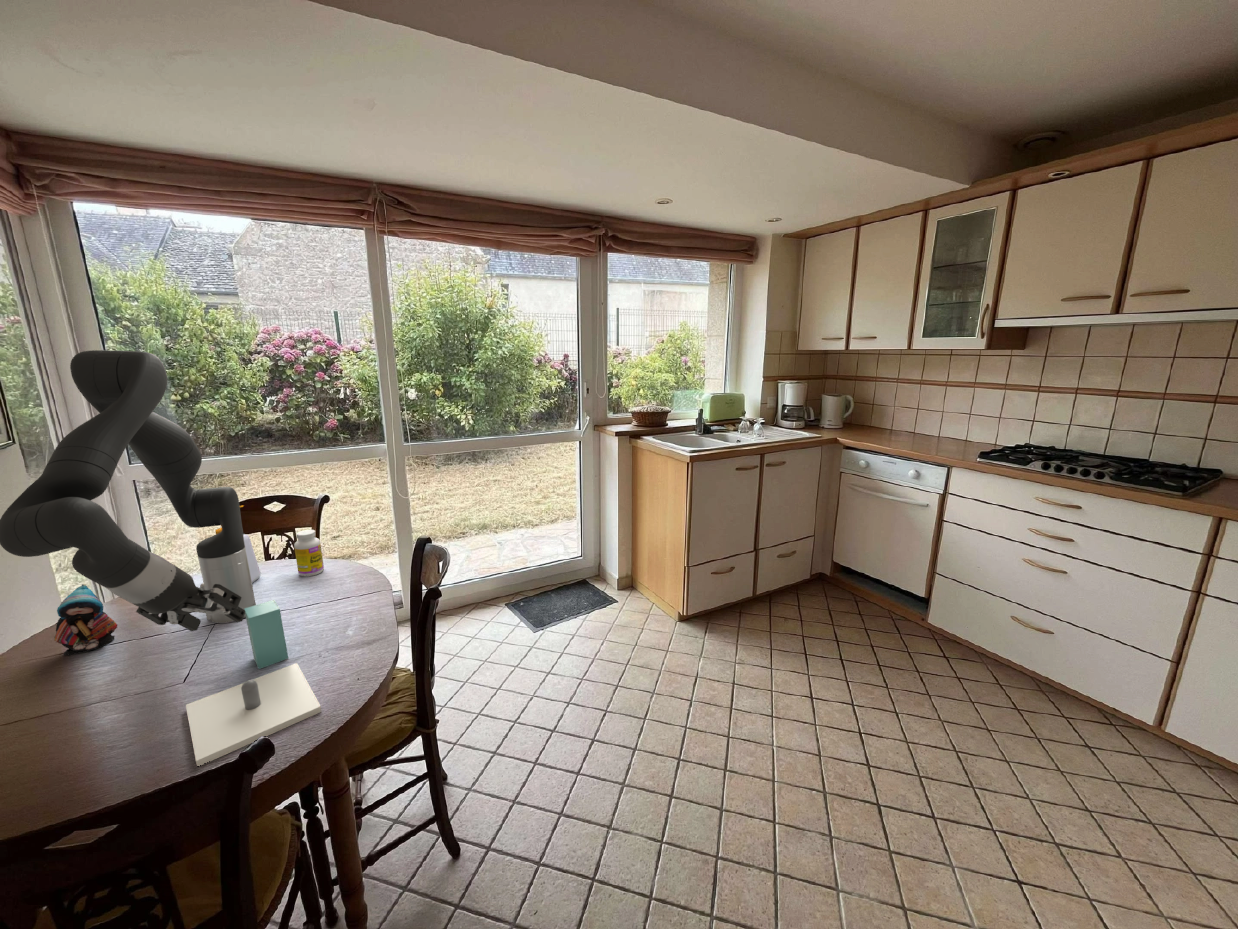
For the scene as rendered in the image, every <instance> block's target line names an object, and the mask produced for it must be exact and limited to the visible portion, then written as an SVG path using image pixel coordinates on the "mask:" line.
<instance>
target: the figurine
mask: <svg viewBox="0 0 1238 929" xmlns="http://www.w3.org/2000/svg"><path fill="white" fill-rule="evenodd" d="M56 613H57V615H58V617H59V618H58V620H57V622H56V624H55V634H54V640H53V641H54V642H55V643H58V644H59V645H60V644H61V645H62V646H63V647H65V648H66V650H65V651H64V653H63V655H64V656H73V655H76V654H80V653H85V652H90V651H94V650H96V649H100V648H102V647H103V646H106V645H108V644H110V643H112V642H113V641H115V635H112V634H113V633H114V632H115V631H116V629H118V624H117V623H116V622H115V620H114V619H112V617H110V616H109V615H108V614H107V613H106V612H105V611H104V605H103V602H102V600H100V599H99V598H98V596H97V595H96V594H95V593H94V592H93V591H92V589H90V588H89V587H88V586H87V584H85V583H83V584H81V585H80V586H78V587H76V588H75V589H74V590H73V591H72V592H71V593H70V594H69V595H67V596H66V597H65V598H64V599H63V601H61V603H60V604H59V606H57V608H56Z"/></svg>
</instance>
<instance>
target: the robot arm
mask: <svg viewBox="0 0 1238 929" xmlns="http://www.w3.org/2000/svg"><path fill="white" fill-rule="evenodd" d="M69 366H70V367H69V368H70V374H71V377H72V380H73V383H74V384H75V386H76V388H77V390H78V391H79V392H80V394H81V395H82V396H83V397H84V399H85V400H86V401H87V402H88V403H89V405H91V407H93V408H94V409H95V410H96V411H97V412H98V414H97V415H95V416H93V417H92V418H90V419H88V420H86V421H85V422H83V423H82V424H80V425H78V426H77V427H76V428H74V429H73V430H72V431H70V432H69V433H67V434H66V435H65V437H63V438H62V439H61V440H60V442H59V443H58V444H57V445H56V447H55V449H54V450H53V452H52V454H51V456H50V457H49V460H48V461H47V463H46V465H45V467H44V468H43V471H42V473H41V475H40V476H39V477H38V478H37V479H36V480H35V481H34V482H31V484H30V485H28V487H27V488H26V489H24V491H23V492H22V493H21V494H20V495H19V496H18V497H17V498H16V499H15V500H14V501H13V502H12V503H10V505H9V506H8V507H7V508H6V510H5V511H4V513H3V514H2V516H1V517H0V546H1V548H3V550H5V551H6V552H8V553H9V554H11V555H14V556H17V557H24V558H33V557H38V556H44V555H49V554H51V553H55V552H59V551H64V550H68V549H72V548H75V549H77V551H76V552H75V554H74V555H73V557H72V560H71V565H72V567H73V569H74V570H75V571H76V572H77V573H78V574H79V575H81V576H83V577H84V578H86V579H89V581H90V580H91V581H92V582H94V583H96V584H98V585H99V586H102V587H104V588H106V589H107V590H109V591H110V592H111V593H112V594H113V595H115V596H116V597H119V598H120V599H123V600H124V601H127V602H128V603H130V604H132V605H135V607H137V610H136V611H135V612H136V613H137V614H139V615H141V616H142V617H144V618H146V619H148V620H150V621H151V622H153V623H155V624H157V625H158V626H164V625H166V624H167V623H169V624H171V625H174V626H175V625H179V626H181V627H183V628H184V629H187V630H188V631H190V632H194V631H195V632H196V631H198V629H199V628H200V625H201V622H202V621H201V619H200V618H198V617H196V616H194V615H193V613H201V614H205V616H206V620H208V621H211V622H212V623H215V624H226V623H227V624H228V623H233V622H236V623H240V622H243V620H244V619H246V615H245V612H246V611H245V610H244V609H245V608H248V607H251V606H255V605H257V603H256V599H255V598H256V597H255V592H254V588H253V583H252V581H251V576H250V570H249V565H248V560H247V555H246V549H245V544H244V536H243V534H244V529H243V523H242V516H241V508H240V506H241V505H240V500H239V496H238V493H237V491H236V490H235V489H234V487H231V486H223V487H221V486H220V487H208V488H197V489H196V488H194V487H192V485H191V484H192V482H193V480H194V478H195V477H196V476H197V474H198V473H199V471H200V469H201V465H202V461H203V456H202V453H201V451H200V449H199V448H198V446H197V444H196V442H195V440H194V439H193V438H192V436H191V435H190V434H189V432H187V430H185V429H184V428H183V427H182V426H180V425H178V424H177V423H175V422H173V421H171V420H169V419H168V418H166V417H164V416H162V415H160V414H158V413H156V412H153V411H154V410H155V408H156V407H157V406H158V405H159V403H160V402H161V401H162V399H163V397H164V396H165V394H166V390H167V389H168V388H167V387H168V373H167V369H166V368H165V365H164V363H163V362H162V360H161V358H159V357H158V356H157V355H155V354H154V353H150V352H147V351H139V350H136V351H135V350H113V349H112V350H111V349H110V350H104V349H100V350H99V349H98V350H97V349H96V350H95V349H94V350H92V349H91V350H83V351H80V352H78V353H76V354H75V355H74V356H73V357H72V358H71V360H70V365H69ZM127 446H129V447H130V448H131V450H132V452H133V453H134V454H135V456H136V457H137V458H138V460H139V461H140V462H141V463H142V465H143V466H144V468H145V469H146V470H147V471H148V472H149V473H150V475H152V476H153V478H154V479H155V480H156V482H157V484H159V486H160V487H161V489H162V490H163V491H164V493H165V494H166V496H167V497H168V499H169V501H170V503H171V505H172V507H173V508H174V510H175V512H176V514H177V515H178V517H179V519H180V520H181V521H182V522H183V523H184V525H186V527H187V526H188V527H189V528H196V529H197V528H198V529H199V528H208V527H217V526H218V527H219V526H220V527H221V526H222V531H221V532H220V533H218V534H216V533H215V535H214V534H213V535H212V536H209V537H207V538H205V539H203V540H201V541H199V542H198V543H197V544H196V549H195V550H196V555H197V559H198V563H199V564H198V565H199V568H200V572H201V577H202V583H201V584H200V585H199V586H197V585H196V583H195V580H194V578H193V577H192V575H190V574H189V573H188V572H186V571H184V570H182V569H181V568H179V567H178V566H176V565H175V564H174V563H172V562H170V561H169V560H167V559H165V558H164V557H162V556H160V555H158V554H156V553H154V552H151V551H149V550H147V549H146V548H144V546H141V545H140V544H138V543H137V542H135V541H133V540H132V539H130V538H128V537H127V535H126V534H125V533H124V532H123V530H122V529H121V527H120V526H118V524H117V522H115V520H114V518H112V516H111V515H110V513H108V512H107V510H105V508H104V507H102V506H101V505H100V504H99V503H97V502H94V501H93V500H96V498H99V497H100V496H102V494H104V493H105V492H106V490H107V488H108V487H109V485H110V482H111V480H112V478H113V476H114V473H115V471H116V470H117V469H116V468H117V466H118V465H119V464H118V463H119V462H120V459H121V457H122V455H123V453H124V452H125V450H126V448H127ZM159 614H160V615H159Z"/></svg>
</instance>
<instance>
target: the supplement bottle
mask: <svg viewBox="0 0 1238 929" xmlns="http://www.w3.org/2000/svg"><path fill="white" fill-rule="evenodd" d="M296 538H297V540H296V542H294V544H293V546H294V553H295V559H296V560H295V561H296V566H297V568H296V569H297V573H298V575H299V576H301V577H314V576H317V575H319V574H320V573H322V572H323V571H324V569H325V566H324V559H323V552H322V545H321V544H322V543H321V540H320V539H319V538H317V537H316V530H314V529H305V530H300V531H298V532H297V533H296Z"/></svg>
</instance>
